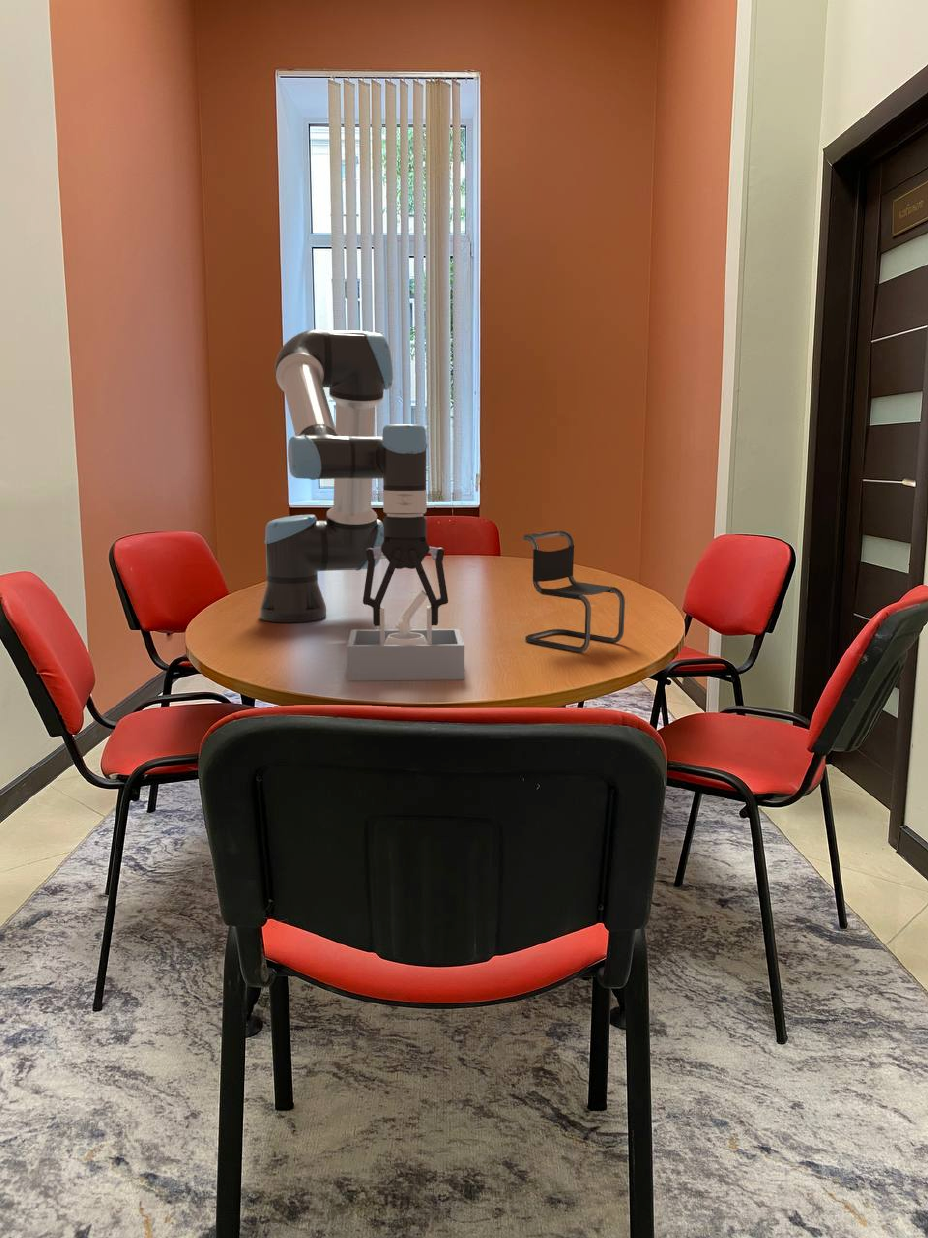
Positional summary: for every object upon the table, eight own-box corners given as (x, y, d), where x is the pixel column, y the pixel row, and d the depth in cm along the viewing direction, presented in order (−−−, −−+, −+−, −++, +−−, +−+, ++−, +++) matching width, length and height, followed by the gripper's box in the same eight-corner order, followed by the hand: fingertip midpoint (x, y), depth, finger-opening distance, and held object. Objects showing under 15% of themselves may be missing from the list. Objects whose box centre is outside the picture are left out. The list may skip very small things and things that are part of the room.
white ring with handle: (453, 620, 157) (420, 599, 155) (413, 672, 160) (381, 652, 158) (450, 604, 164) (418, 583, 161) (412, 653, 167) (380, 634, 165)
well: (352, 661, 169) (351, 629, 168) (459, 660, 170) (459, 628, 169) (347, 680, 155) (346, 646, 154) (464, 679, 157) (464, 645, 155)
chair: (556, 632, 196) (559, 530, 192) (624, 644, 185) (628, 536, 180) (517, 641, 187) (519, 534, 183) (587, 655, 175) (590, 541, 171)
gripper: (344, 516, 153) (346, 648, 157) (465, 516, 154) (464, 647, 159) (346, 513, 160) (349, 639, 165) (462, 513, 162) (461, 638, 166)
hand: (405, 643), depth 162 cm, fingers closed on white ring with handle, 8 cm apart
